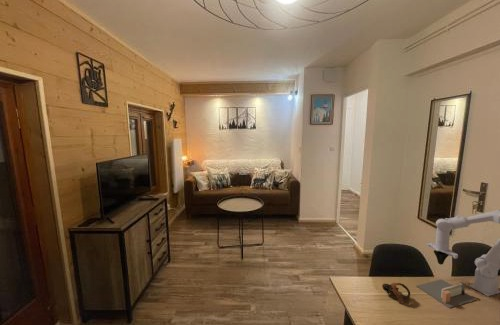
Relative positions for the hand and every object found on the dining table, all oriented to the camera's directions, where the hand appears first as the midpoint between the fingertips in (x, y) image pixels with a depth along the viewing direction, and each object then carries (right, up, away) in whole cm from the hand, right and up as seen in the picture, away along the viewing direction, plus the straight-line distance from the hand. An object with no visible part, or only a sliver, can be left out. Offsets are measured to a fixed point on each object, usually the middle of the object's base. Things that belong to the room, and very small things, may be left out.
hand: (440, 263), depth 124 cm
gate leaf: (-6, -10, -13) cm, 17 cm away
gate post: (+2, -11, -11) cm, 15 cm away
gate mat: (-6, -11, -9) cm, 16 cm away
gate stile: (-11, -12, -15) cm, 22 cm away
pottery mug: (-33, -12, -10) cm, 36 cm away
